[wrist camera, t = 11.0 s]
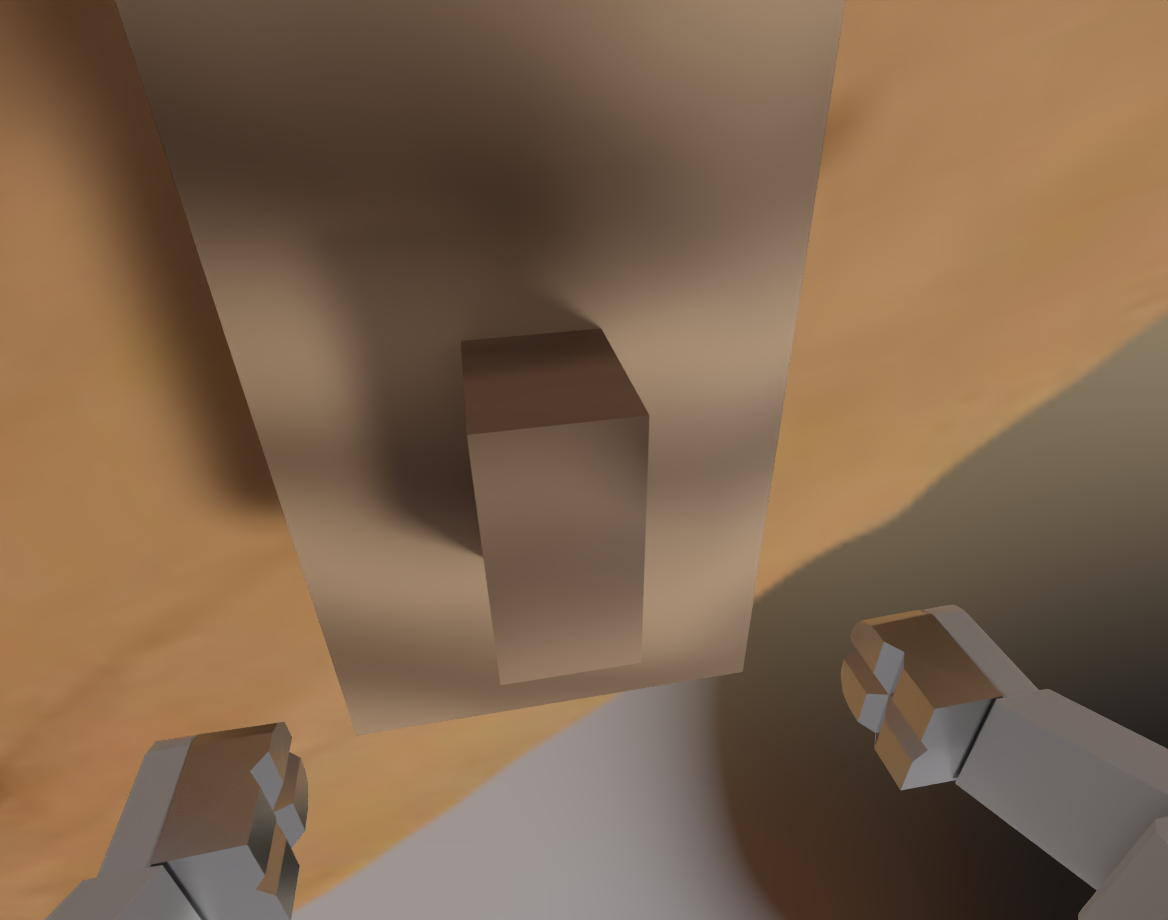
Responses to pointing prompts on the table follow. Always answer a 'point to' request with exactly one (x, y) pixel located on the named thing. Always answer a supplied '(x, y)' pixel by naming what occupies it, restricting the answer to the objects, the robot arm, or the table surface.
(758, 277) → the shelf board
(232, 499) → the table surface
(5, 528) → the table surface
